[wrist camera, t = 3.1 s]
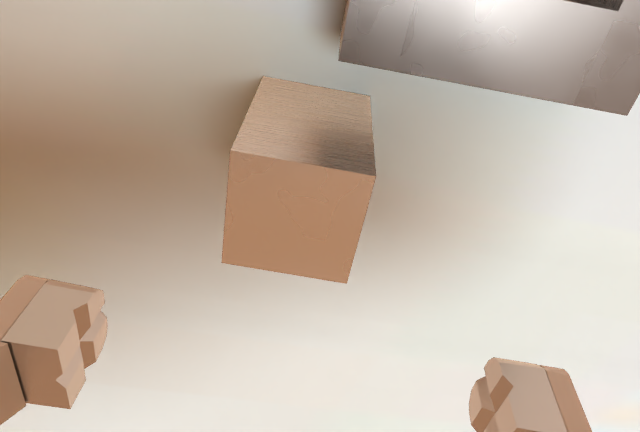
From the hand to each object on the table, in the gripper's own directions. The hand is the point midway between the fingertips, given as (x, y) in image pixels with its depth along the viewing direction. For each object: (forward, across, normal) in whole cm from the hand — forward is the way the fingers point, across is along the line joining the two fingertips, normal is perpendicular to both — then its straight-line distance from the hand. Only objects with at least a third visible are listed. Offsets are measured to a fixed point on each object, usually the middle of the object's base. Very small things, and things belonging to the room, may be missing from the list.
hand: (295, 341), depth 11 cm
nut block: (+11, -1, -1) cm, 11 cm away
